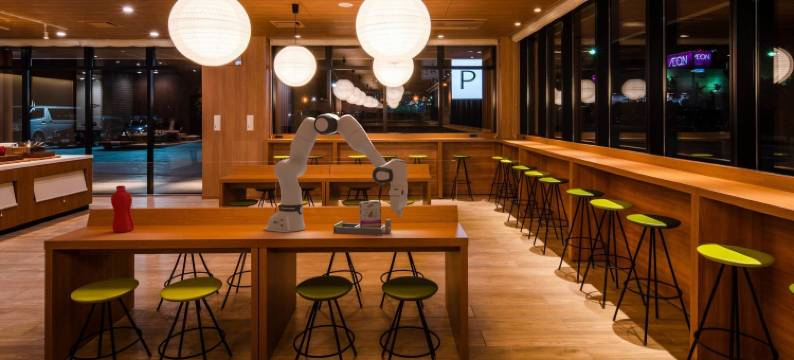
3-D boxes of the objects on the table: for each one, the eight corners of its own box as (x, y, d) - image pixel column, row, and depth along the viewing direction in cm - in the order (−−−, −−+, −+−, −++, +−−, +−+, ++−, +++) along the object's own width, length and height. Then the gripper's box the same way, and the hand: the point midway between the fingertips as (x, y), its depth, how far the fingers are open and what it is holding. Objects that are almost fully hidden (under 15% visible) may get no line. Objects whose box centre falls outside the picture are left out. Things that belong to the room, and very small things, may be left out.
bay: (333, 232, 282) (333, 225, 281) (341, 228, 293) (341, 221, 293) (381, 235, 275) (381, 227, 274) (387, 230, 286) (387, 223, 286)
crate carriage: (354, 232, 280) (354, 219, 280) (360, 229, 289) (360, 216, 288) (387, 234, 275) (387, 221, 275) (392, 231, 284) (392, 218, 283)
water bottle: (127, 233, 282) (125, 187, 279) (109, 232, 284) (106, 186, 281) (139, 230, 291) (136, 184, 288) (122, 229, 293) (119, 184, 290)
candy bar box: (379, 230, 286) (379, 200, 284) (381, 232, 281) (381, 201, 279) (359, 231, 284) (359, 201, 282) (360, 233, 279) (360, 202, 277)
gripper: (398, 187, 286) (399, 212, 288) (387, 192, 267) (388, 219, 268) (410, 187, 285) (410, 213, 286) (400, 192, 265) (400, 220, 267)
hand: (399, 216), depth 277 cm, fingers closed
